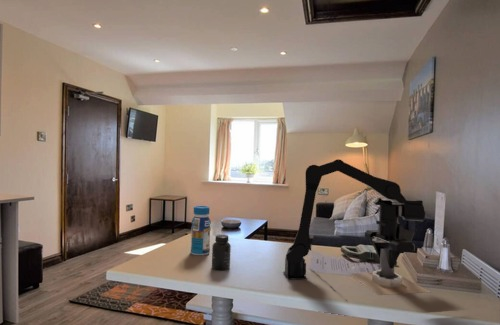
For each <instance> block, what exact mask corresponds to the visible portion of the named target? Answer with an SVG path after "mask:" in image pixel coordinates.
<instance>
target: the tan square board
mask: <svg viewBox="0 0 500 325" xmlns="http://www.w3.org/2000/svg"><path fill="white" fill-rule="evenodd" d="M372 273H373V272H362V273H361V272H360V273H359V272H357V273H348V275H349V276H350V277H352V278H353V279H355V280H356V281H358V282H360V283H361V284H363V286H365V287H366V288H367V289H369V290H370V291H372V292H373V293H375V294H376V295H378V296H383V295H384V296H386V295H387V296H388V295H402V294H403V295H406V294H423V293H426V294H427V293H431V291H430V290H428V289H426V288H424V287H422V286H421V285H418V284H417V283H415V282H413V281H411V280H409V279H407V277H404V276H402V284H401V286H400V287H392V288H390V287H385V286H381V285H378V284H376V283H375V282H373V281H372Z"/></svg>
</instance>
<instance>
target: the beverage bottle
mask: <svg viewBox="0 0 500 325" xmlns="http://www.w3.org/2000/svg"><path fill="white" fill-rule="evenodd" d="M209 214H210V207H209V206H208V205H196V206H193V215H194V216H193V218H192V219H191V227H190V231H191V235H190V236H191V237H190V238H191V241H190V242H191V243H190V254H192V256H193V255H194V256H207V255H209V253H210V249H211V248H210V242H211V231H212V230H211V219H210V217H209V216H208V215H209Z"/></svg>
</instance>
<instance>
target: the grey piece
mask: <svg viewBox="0 0 500 325" xmlns="http://www.w3.org/2000/svg"><path fill="white" fill-rule="evenodd" d="M340 252H341V253H342V254H343V255H345V256H346V257H347V258H351V259H356V260H359V261H360V262H361V263H364V264H365V263H376V264H380V260H379V258H378V255H377V253H376V251H375V249H374V247H373V245H369V244H367V245H365V244H358V245H356V246H350V245H348V246H347V245H342V246H341V247H340ZM397 264H398V260H397V261H396V263H395V265H394V266H397Z"/></svg>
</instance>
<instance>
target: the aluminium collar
mask: <svg viewBox="0 0 500 325" xmlns="http://www.w3.org/2000/svg"><path fill="white" fill-rule="evenodd" d="M371 273H372V281H373V282H375V283H376V284H378V285H381V286H385V287H390V288H392V287H400V286H401V284H402V277H403V275H400V274H398V273H397V272H396V271H394V278H390V279H389V278H385V277H381V276H380V269H379V270H374V271H373V272H371Z"/></svg>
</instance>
